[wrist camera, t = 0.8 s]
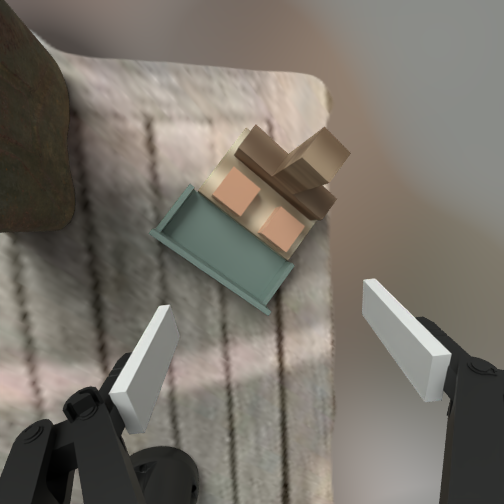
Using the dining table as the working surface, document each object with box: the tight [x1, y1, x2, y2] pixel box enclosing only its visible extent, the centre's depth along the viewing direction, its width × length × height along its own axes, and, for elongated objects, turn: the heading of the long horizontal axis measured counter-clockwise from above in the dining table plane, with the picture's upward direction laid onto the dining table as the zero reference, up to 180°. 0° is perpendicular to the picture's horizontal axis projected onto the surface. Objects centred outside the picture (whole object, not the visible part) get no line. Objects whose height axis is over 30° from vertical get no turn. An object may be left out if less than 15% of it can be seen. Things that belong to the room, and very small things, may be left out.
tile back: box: [257, 206, 305, 252], centre depth 39 cm, size 5×5×2 cm
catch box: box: [149, 184, 295, 316], centre depth 39 cm, size 9×21×6 cm, turn 53°
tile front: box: [212, 167, 261, 217], centre depth 37 cm, size 5×5×2 cm
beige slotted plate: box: [198, 128, 317, 260], centre depth 41 cm, size 12×18×3 cm, turn 53°
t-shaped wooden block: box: [234, 125, 350, 221], centre depth 33 cm, size 4×16×14 cm, turn 53°
